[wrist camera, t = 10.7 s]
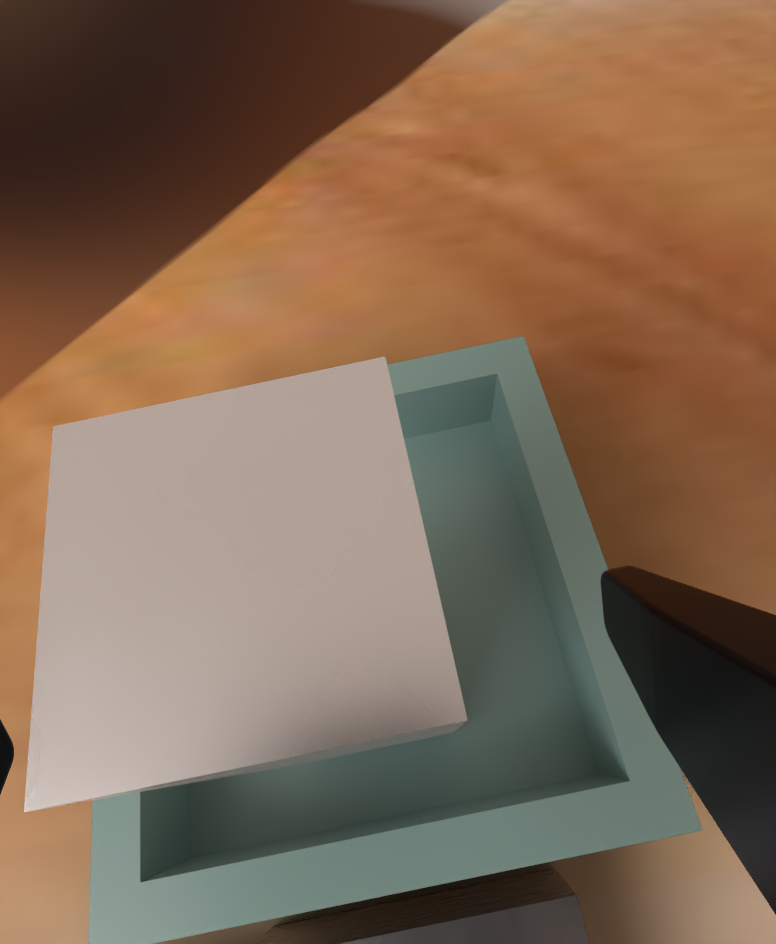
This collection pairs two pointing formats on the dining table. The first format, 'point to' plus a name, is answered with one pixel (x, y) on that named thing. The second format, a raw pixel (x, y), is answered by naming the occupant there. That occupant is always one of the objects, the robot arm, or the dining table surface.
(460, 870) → the tray
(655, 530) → the dining table surface
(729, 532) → the dining table surface
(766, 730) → the robot arm
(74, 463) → the pin
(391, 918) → the tensioner bracket
